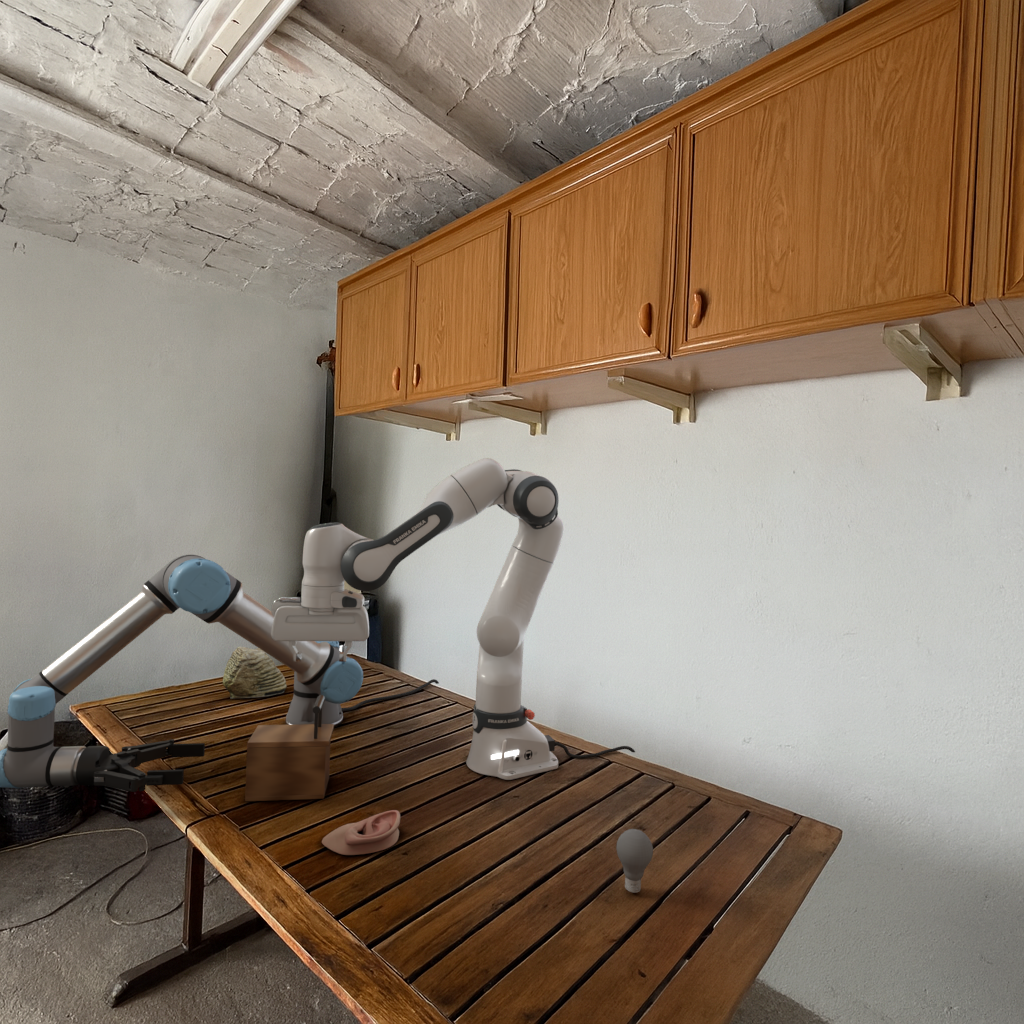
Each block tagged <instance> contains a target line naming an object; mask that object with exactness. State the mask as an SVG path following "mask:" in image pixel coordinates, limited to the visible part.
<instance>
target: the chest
mask: <svg viewBox="0 0 1024 1024" xmlns="http://www.w3.org/2000/svg"><path fill="white" fill-rule="evenodd" d="M331 740H332V739H331ZM331 740H330V743H329V746H307V747H261V748H246V767H245V771H246V772H245V792H244V793H245V795H244V801H245V802H265V801H267V802H268V801H269V802H270V801H295V800H321V799H322V800H324V799H325V795H326V792H327V788H328V783H329V780H330V769H331V767H330V766H331V765H330V764H331V742H332V741H331Z"/></svg>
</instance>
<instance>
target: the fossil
mask: <svg viewBox="0 0 1024 1024" xmlns="http://www.w3.org/2000/svg"><path fill="white" fill-rule="evenodd" d="M222 676H223V677H222V685H223V687H224V688H225V690H226V691H228V693H229V698H230V699H250V698H264V697H271V696H275V695H281V694H284V693H285V691H286V689H287V687H288V686H287V680H286V678H285V676H284V674H283V673H282V672H281V669H279V668H278V667H277V665H276V663H275V662H274V660H273V659H272V657H270V655H269V654H267V653H266V652H264V651H263V650H261V649H260V648H258V647H256V648H251V647H247V646H246V647H245V646H238V647H237V648H236V649H235V650H233V651H232V653H231V656H230V657H229V659H228V660H227V663H226V666H225V668H224V671H223V675H222Z"/></svg>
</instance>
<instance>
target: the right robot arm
mask: <svg viewBox="0 0 1024 1024" xmlns="http://www.w3.org/2000/svg"><path fill="white" fill-rule="evenodd" d="M494 506H498V508H500V509H501V510H503V511H505V512H506V513H508V514H509V515H511V516H513V517H514V518H517V520H518V529H517V534H516V536H515V537H514V541H513V542H512V544H511V547H510V549H509V551H508V553H507V556H506V558H505V560H504V562H503V565H502V567H501V569H500V572H499V575H498V577H497V578H496V582H495V583H494V586H493V588H492V591H491V593H490V595H489V598H488V599H487V602H486V605H485V606H484V609H483V612H482V614H481V616H480V619H479V621H478V623H477V626H476V639H477V642H478V643H479V646H478V647H479V648H478V658H477V669H476V680H475V681H476V684H475V685H476V686H475V703H474V705H473V710H472V719H471V720H472V721H471V722H472V723H471V724H472V729H473V731H472V737H471V743H470V748H469V751H468V755H467V758H466V760H465V763H466V764H465V765H466V766H467V767H468V768H469V769H470V770H471V771H473V772H474V773H478V774H480V775H485V776H491V777H495V778H496V777H497V778H499V779H502V780H506V781H511V780H515V779H520V778H524V777H528V776H532V775H537V774H540V773H545V772H549V771H553V770H557V769H558V768H559V759H558V758H557V756H556V755H555V754H554V753H553V752H555V748H556V746H557V747H560V748H562V749H563V750H564V753H565V755H567V757H570V758H572V759H588V758H595V757H600V756H603V755H605V754H609V753H614V752H617V751H623V750H628V751H629V752H631V753H636V750H635V749H634V748H633V747H631V746H628V745H620V746H617V747H614V748H608V749H605V750H601V751H599V752H595V753H587V754H574V753H571V752H570V751H569V749H568V747H567V746H566V745H565V744H563V743H561V742H558V741H556V740H555V739H554V738H553V737H551V735H549V734H544V733H543V732H542V731H541V730H539V728H537V727H536V726H534V724H532V723H531V722H530V720H531V721H532V720H534V718H535V716H536V715H535V712H534V711H532V710H531V709H528V708H527V707H525V706H524V705H522V685H523V665H524V646H525V645H524V644H525V642H524V641H525V635H526V633H527V630H528V628H529V625H530V622H531V620H532V618H533V615H534V612H535V610H536V608H537V605H538V602H539V599H540V597H541V595H542V592H543V589H544V587H545V585H546V582H547V580H548V578H549V576H550V573H551V571H552V569H553V566H554V563H555V562H556V559H557V556H558V554H559V551H560V547H561V544H562V540H563V536H564V532H565V524H564V521H563V520H562V519H561V517H560V516H559V515H558V514H559V511H558V509H559V493H558V490H557V488H556V486H555V484H553V482H551V481H550V480H549V479H548V478H546V477H544V476H542V475H540V474H537V473H535V472H532V471H527V470H525V471H524V470H521V469H516V468H515V469H514V468H513V469H512V468H511V469H504V467H503V466H502V465H501V464H500V463H499V462H498V461H496V460H495V459H493V458H491V457H490V458H489V457H484V458H480V459H478V460H476V461H473V462H471V463H468V464H467V465H465V466H463V467H461V468H460V469H457V470H456V471H454V472H453V473H451V474H450V475H448V476H446V477H445V478H443V479H442V480H441V481H439V482H438V483H436V485H435V486H433V488H432V489H431V490H430V491H429V492H428V493H427V494H426V496H425V498H424V500H423V502H422V504H421V505H420V507H419V509H418V510H417V511H416V512H415V513H414V514H413V515H412V516H410V517H409V518H408V519H407V520H405V521H403V522H402V523H401V524H399V525H398V526H397V527H395V528H393V529H392V530H391V531H389V532H388V533H386V534H385V535H382V536H381V537H379V538H376V539H372V538H369V537H366V536H364V535H361V534H359V533H357V532H355V531H353V530H351V529H350V528H348V527H346V526H345V525H344V524H343V523H342V522H337V521H336V522H327V523H320V524H316V525H313V526H311V527H310V528H309V529H308V530H307V531H306V533H305V537H304V541H303V549H302V567H303V577H302V579H301V593H300V594H301V596H289V597H287V596H280V597H279V598H277V599H274V601H272V604H271V611H272V615H273V616H274V620H273V625H272V633H271V636H272V638H273V639H274V640H275V641H289V648H290V649H291V651H292V653H293V654H294V662H301V660H302V657H301V656H302V652H298V650H297V649H296V647H295V645H296V644H297V641H338V642H344V646H345V649H344V650H343V651H340V653H339V657H340V658H339V662H346V659H347V656H348V653H349V651H350V649H351V648H352V646H353V642H365V641H367V640H368V638H369V637H370V621H369V620H370V619H369V614H368V610H367V608H366V607H365V606H364V605H365V597H364V595H363V594H362V593H359V592H355V591H353V590H349V589H347V588H345V582H346V584H347V585H348V586H349V587H351V588H353V589H354V590H357V591H360V592H371V591H376V590H377V589H379V588H381V587H382V586H384V585H385V584H386V583H387V582H388V581H389V578H390V577H391V575H392V574H393V572H394V571H395V570H396V567H397V566H398V565H399V564H400V563H401V562H402V561H404V560H405V559H406V558H408V557H409V556H411V555H412V554H413V553H414V552H416V551H418V549H420V548H421V547H423V546H424V545H426V544H427V543H428V542H430V541H432V540H433V539H434V538H436V537H438V536H441V535H443V534H446V533H447V532H449V531H451V530H453V529H456V528H458V527H460V526H462V525H464V524H466V523H468V522H470V521H471V520H472V519H474V518H476V517H477V516H479V515H480V514H481V513H482V512H484V511H485V510H486V509H488V508H491V507H494Z"/></svg>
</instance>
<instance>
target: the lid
mask: <svg viewBox="0 0 1024 1024" xmlns="http://www.w3.org/2000/svg"><path fill="white" fill-rule="evenodd" d="M324 700H325V697H324V696H323V695H319V696H318V697H317V700H316V702H315V705H314V707H313V713H315V721H314V724H301V725H286V724H258V725H257V726H256V728H255V730H254V731H253V733H252V734H251V736H250V738H249V739H248V741H247V743H246V747H247V748H261V747H307V746H329V743H330V740H332V736H333V734H334V729H335V728H334V724H322V705H323V703H324ZM247 748H246V749H247Z"/></svg>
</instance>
